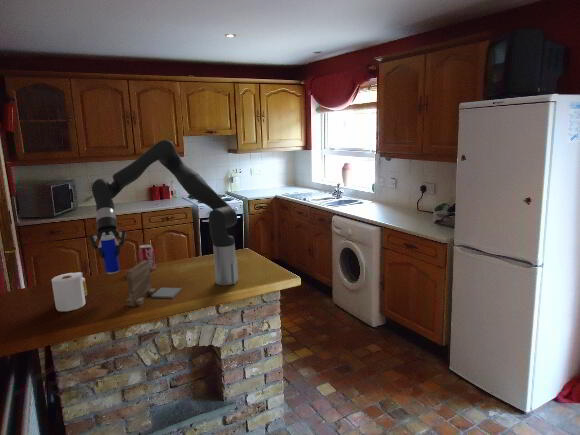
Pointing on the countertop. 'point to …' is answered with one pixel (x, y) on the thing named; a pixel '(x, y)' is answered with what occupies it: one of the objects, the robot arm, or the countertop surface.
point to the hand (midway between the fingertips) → (110, 256)
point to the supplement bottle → (83, 284)
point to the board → (139, 284)
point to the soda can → (147, 255)
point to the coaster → (166, 293)
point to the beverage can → (110, 254)
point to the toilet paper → (68, 291)
